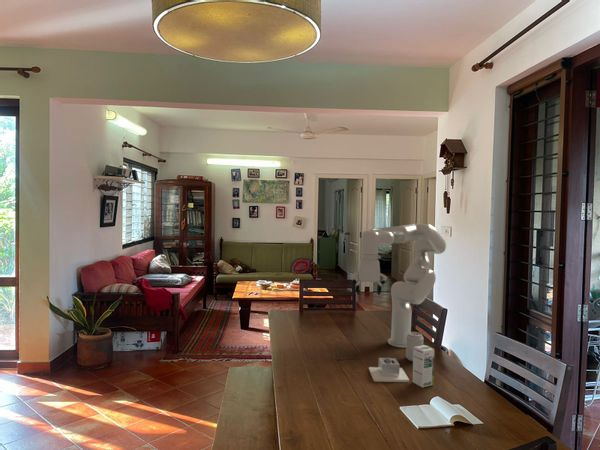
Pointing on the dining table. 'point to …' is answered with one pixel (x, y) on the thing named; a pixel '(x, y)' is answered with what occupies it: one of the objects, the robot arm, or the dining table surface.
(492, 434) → the dining table surface
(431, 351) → the syrup box
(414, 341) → the can
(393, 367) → the grey hollow square block
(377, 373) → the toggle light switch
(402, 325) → the robot arm
